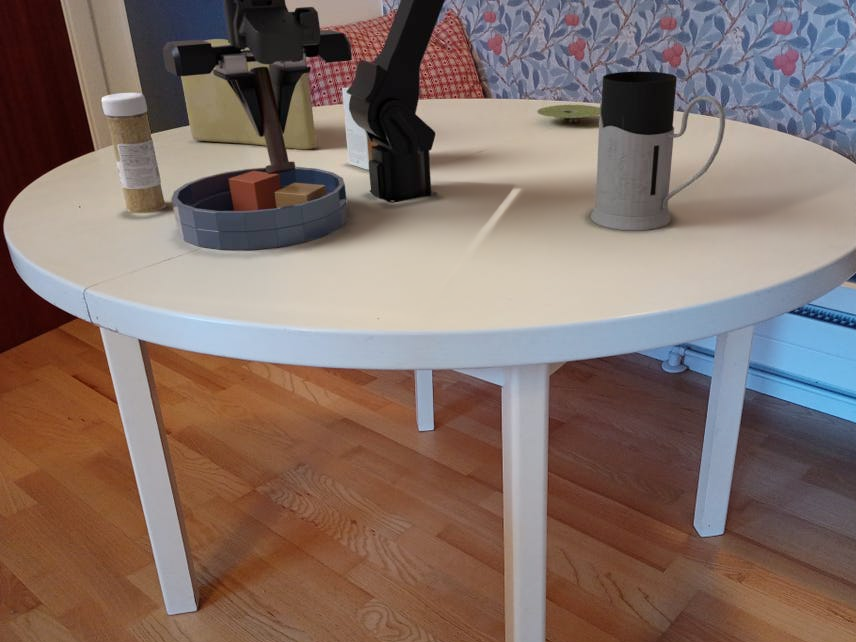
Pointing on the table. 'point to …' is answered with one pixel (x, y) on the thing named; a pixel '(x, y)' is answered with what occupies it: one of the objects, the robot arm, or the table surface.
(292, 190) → the wood block
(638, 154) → the glass holder
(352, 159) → the small box
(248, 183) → the terracotta block
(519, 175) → the table surface
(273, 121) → the stirring stick
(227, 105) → the cheese
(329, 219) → the bowl
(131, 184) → the sprinkles bottle
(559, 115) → the olive green disc
